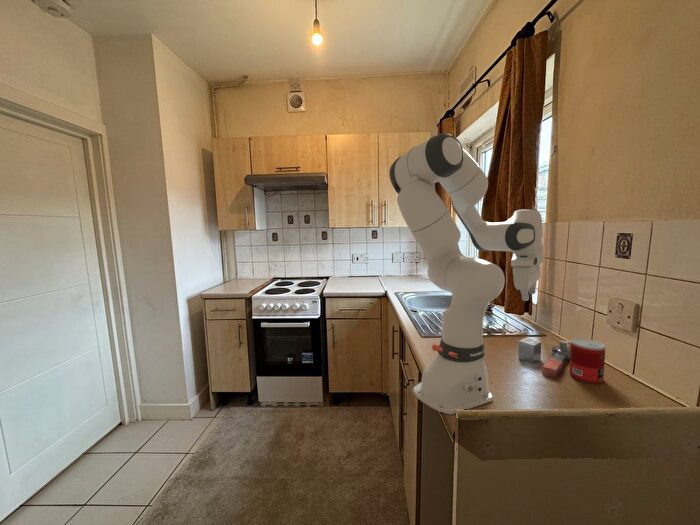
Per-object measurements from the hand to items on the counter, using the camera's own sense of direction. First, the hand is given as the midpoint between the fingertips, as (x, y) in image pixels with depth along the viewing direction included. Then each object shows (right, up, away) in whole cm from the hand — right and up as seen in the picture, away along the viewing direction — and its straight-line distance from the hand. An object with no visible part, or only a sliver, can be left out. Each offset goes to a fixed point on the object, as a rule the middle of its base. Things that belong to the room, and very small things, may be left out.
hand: (528, 296), depth 98 cm
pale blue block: (+1, -22, +2) cm, 22 cm away
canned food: (+10, -23, -12) cm, 28 cm away
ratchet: (+8, -22, -3) cm, 24 cm away
